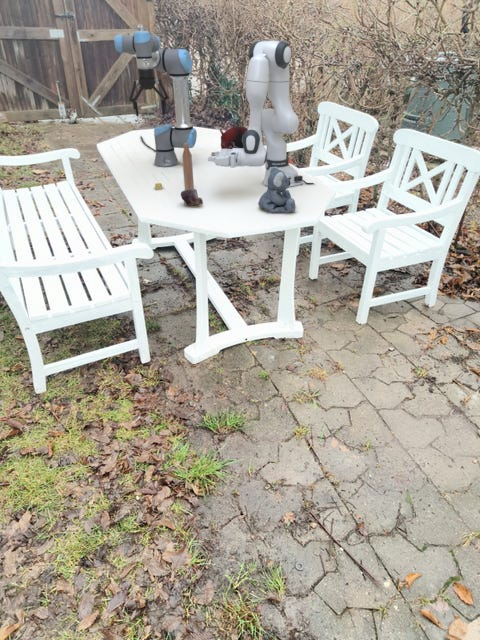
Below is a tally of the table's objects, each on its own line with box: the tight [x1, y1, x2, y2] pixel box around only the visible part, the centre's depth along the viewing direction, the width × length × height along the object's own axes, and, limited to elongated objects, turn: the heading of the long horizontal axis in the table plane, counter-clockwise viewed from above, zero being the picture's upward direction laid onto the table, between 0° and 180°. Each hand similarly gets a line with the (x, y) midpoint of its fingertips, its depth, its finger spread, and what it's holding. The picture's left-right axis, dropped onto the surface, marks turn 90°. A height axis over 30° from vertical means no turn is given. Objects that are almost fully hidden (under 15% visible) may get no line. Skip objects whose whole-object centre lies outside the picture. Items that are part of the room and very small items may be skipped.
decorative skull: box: [219, 125, 248, 150], centre depth 297 cm, size 21×24×25 cm
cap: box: [154, 182, 163, 191], centre depth 253 cm, size 4×4×2 cm
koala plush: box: [257, 167, 297, 214], centre depth 221 cm, size 17×18×20 cm
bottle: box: [181, 143, 195, 191], centre depth 240 cm, size 5×5×26 cm
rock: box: [180, 188, 204, 207], centre depth 229 cm, size 12×9×10 cm
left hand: (150, 115), depth 232 cm, fingers open, 13 cm apart
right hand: (209, 156), depth 235 cm, fingers open, 8 cm apart
